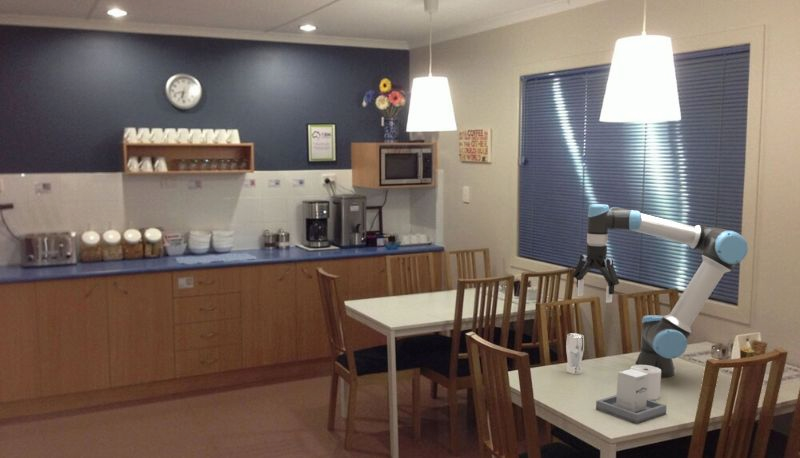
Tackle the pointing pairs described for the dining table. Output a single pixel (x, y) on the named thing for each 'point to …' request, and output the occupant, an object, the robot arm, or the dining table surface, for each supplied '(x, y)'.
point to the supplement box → (632, 390)
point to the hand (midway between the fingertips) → (594, 299)
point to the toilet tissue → (651, 380)
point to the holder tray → (649, 413)
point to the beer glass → (574, 352)
